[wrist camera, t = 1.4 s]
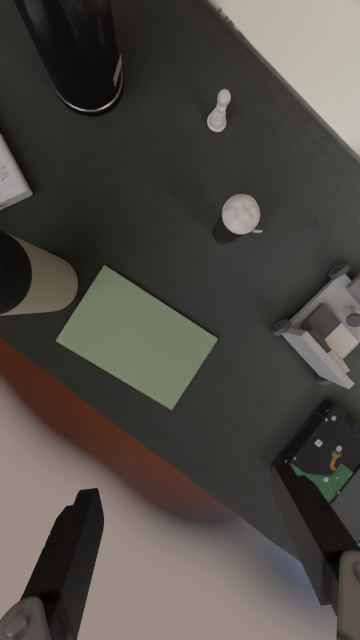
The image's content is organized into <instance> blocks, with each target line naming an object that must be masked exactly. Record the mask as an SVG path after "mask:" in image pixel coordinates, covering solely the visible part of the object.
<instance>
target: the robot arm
mask: <svg viewBox="0 0 360 640" xmlns="http://www.w3.org/2000/svg"><path fill="white" fill-rule="evenodd" d="M14 3H15V5H16V7H17V9H18V11H19V13H20V15H21V17H22V19H23V21H24V23H25V25H26V28H27V30H28V32H29V34H30V36H31V38H32V40H33V42H34V44H35V46H36V48H37V51H38V53H39V55H40V57H41V59H42V61H43V63H44V65H45V68H46V70H47V72H48V74H49V76H50V78H51V80H52V83H53V86H54V88H55V90H56V92H57V94H58V96H59V98H60V99H61V100H62V102H63V103H64V104H65V105H66V106H67V107H68V108H70V109H71V110H73V111H75V112H77V113H79V114H82V115H87V116H97V115H101V114H104V113H106V112H108V111H109V110H111V109H112V108H113V107H114V106H115V105H116V104H117V103H118V101H119V99H120V97H121V94H122V91H123V74H122V68H121V66H122V59H121V55H120V58H119V54H118V47H117V40H116V34H115V28H114V22H113V16H112V10H111V4H110V0H14ZM272 492H273V498H274V502H275V505H276V508H277V510H278V513H279V515H280V517H281V519H282V521H283V524H284V526H285V528H286V530H287V532H288V534H289V537H290V539H291V541H292V543H293V545H294V548H295V550H296V552H297V554H298V556H299V559H300V561H301V563H302V565H303V567H304V569H305V572H306V574H307V576H308V578H309V580H310V583H311V585H312V587H313V589H314V591H315V593H316V595H317V598H318V600H319V602H320V604H321V605H329V604H331V605H332V607H333V609H334V611H335V613H336V616H337V640H360V547H359V546H358V545H357V543H356V542H355V540H354V539H353V537H352V536H351V535H350V533H349V532H348V530H347V529H346V527H345V526H344V524H343V523H342V521H341V520H340V519H339V517H338V516H337V514H336V513H335V511H334V510H333V508H331V506H330V504H329V503H328V501H327V500H326V498H324V495H323V494H322V493H321V491H320V490H319V488H318V487H317V485H316V484H315V483H314V482H312V481H311V480H310V479H309V478H308V477H306V476H305V475H300V476H297V474H296V473H295V471H294V469H293V468H292V466H291V465H290V464H289V463H286V464H279V465H272ZM103 527H104V515H103V509H102V504H101V500H100V495H99V491H98V488H93V489H85V490H80V491H79V492H78V494H77V497H76V499H75V502H74V504H73V505H71V506H66V507H65V509H64V510H63V511H62V512H61V514H60V515H59V516H58V517H57V519H56V521H55V523H54V525H53V527H52V530H51V532H50V535H49V536H48V539H47V541H46V543H45V547H44V548H43V550H42V553H41V555H40V557H39V559H38V562H37V564H36V566H35V568H34V570H33V573H32V575H31V577H30V580H29V582H28V584H27V587H26V589H25V591H24V593H23V595H22V597H21V599H20V601H19V602H17V603H16V604H15V605H14V606H12V607H11V608H10V609H9V610H8V612H6V614H5V615H4V616H3V617H2V619H1V620H0V640H77V636H78V632H79V628H80V623H81V620H82V615H83V611H84V608H85V603H86V599H87V595H88V591H89V586H90V583H91V579H92V574H93V570H94V566H95V562H96V558H97V554H98V550H99V546H100V541H101V537H102V533H103Z"/></svg>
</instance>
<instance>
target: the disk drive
mask: <svg viewBox="0 0 360 640" xmlns="http://www.w3.org/2000/svg"><path fill="white" fill-rule="evenodd" d="M286 463H289V464H290V465H291V466H292V468H293V469H294V471H295V473H296V474H297V476H300V475H305V476H306V477H308V478H309V479H310V480H311V481H312V482H314V483H315V484H316V485H317V487H318V488H319V490H320V491H321V493H322V494H323V495H324V498H326V500H327V501H328V503H329V504H332V503H333V502H334V500H335V499H336V498H337V496H338V495H339V494H340V492H341V491H342V490H343V489H344V488H345V486H346V485H347V484H348V483H349V482H350V480H351V479H352V478H353V477H354V475H355V474H356V473H357V472H358V470H359V469H360V423H359V422H358V421H356V420H355V419H354V418H352V417H351V416H350V415H348V414H347V412H346V411H344V410H343V409H342V408H341V407H340V406H338V405H337V404H336V403H334V402H332V401H330V400H328V399H326V401H325V402H324V403H322V405H321V406H320V407H319V408H318V409H317V411H316V412H315V413H314V414H313V416H312V417H311V418H310V419H309V421H308V422H307V423H306V424H305V425H304V427H303V428H302V429H301V431H300V432H299V433H298V435H297V436H296V437H295V438H294V439H293V440H292V442H291V443H290V444H289V445H288V447H287V448H286V449H285V450H284V451H283V453H282V454H281V455H280V456H279V458H278V459H277V460H276V461H275V463H274V464H273V465H279V464H286ZM271 470H272V467H271Z"/></svg>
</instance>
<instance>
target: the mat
mask: <svg viewBox="0 0 360 640" xmlns="http://www.w3.org/2000/svg"><path fill="white" fill-rule="evenodd" d="M217 340H218V338H216V337H215V336H213V335H212V334H210V333H208V332H207V331H205V330H204V329H202V328H201V327H199V326H198V325H196V324H195V323H193V322H192V321H190V320H188V319H187V318H185V317H184V316H182V315H181V314H179V313H178V312H176V311H175V310H173V309H172V308H170V307H168V306H167V305H165V304H164V303H162V302H161V301H159V300H158V299H156V298H155V297H153V296H152V295H150V294H148V293H147V292H145V291H144V290H142V289H141V288H139V287H138V286H136V285H135V284H133V283H132V282H130V281H128V280H127V279H125V278H124V277H122V276H121V275H119V274H118V273H116V272H115V271H113V270H112V269H110V268H108V267H107V266H105V265H104V266H103V268H102V269H101V271H100V272H99V274H98V276H97V277H96V279H95V280H94V282H93V283H92V285H91V286H90V288H89V290H88V291H87V293H86V294H85V296H84V297H83V299H82V300H81V302H80V304H79V305H78V307H77V308H76V310H75V311H74V313H73V314H72V316H71V318H70V319H69V321H68V322H67V324H66V325H65V327H64V328H63V330H62V332H61V333H60V335H59V336H58V338H57V339H56V341H57V342H58V343H60V344H62V345H63V346H65V347H67V348H69V349H70V350H72V351H74V352H75V353H77V354H79V355H80V356H82V357H84V358H85V359H87V360H89V361H90V362H92V363H94V364H95V365H97V366H99V367H100V368H102V369H104V370H105V371H107V372H109V373H110V374H112V375H114V376H115V377H117V378H119V379H121V380H122V381H124V382H126V383H127V384H129V385H131V386H132V387H134V388H136V389H137V390H139V391H141V392H142V393H144V394H146V395H147V396H149V397H151V398H152V399H154V400H156V401H157V402H159V403H161V404H162V405H164V406H166V407H167V408H169V409H171V410H172V409H173V408H174V406H175V405H176V403H177V402H178V400H179V399H180V397H181V395H182V394H183V392H184V391H185V389H186V388H187V386H188V385H189V383H190V382H191V380H192V379H193V377H194V375H195V374H196V372H197V371H198V369H199V368H200V366H201V365H202V363H203V362H204V360H205V359H206V357H207V355H208V354H209V352H210V351H211V349H212V348H213V346H214V345H215V343H216V342H217Z"/></svg>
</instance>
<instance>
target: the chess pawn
mask: <svg viewBox="0 0 360 640" xmlns="http://www.w3.org/2000/svg"><path fill="white" fill-rule="evenodd" d="M230 100H231V94H230V92H229V91H228V90H227V89H223V90H221V91H220V92H219V94H218V97H217V101H218V103H217V105H216V108H215V109H214V110H213V111H212V112H211V113H210V114H209V116H208V118H207V124H208V127H209V128H210V129H211V130H212V131H214V132H221V131H222V130H223V129H224V128H225V126H226V112H225V110H226V108H227V105H228V104H229V102H230Z"/></svg>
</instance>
